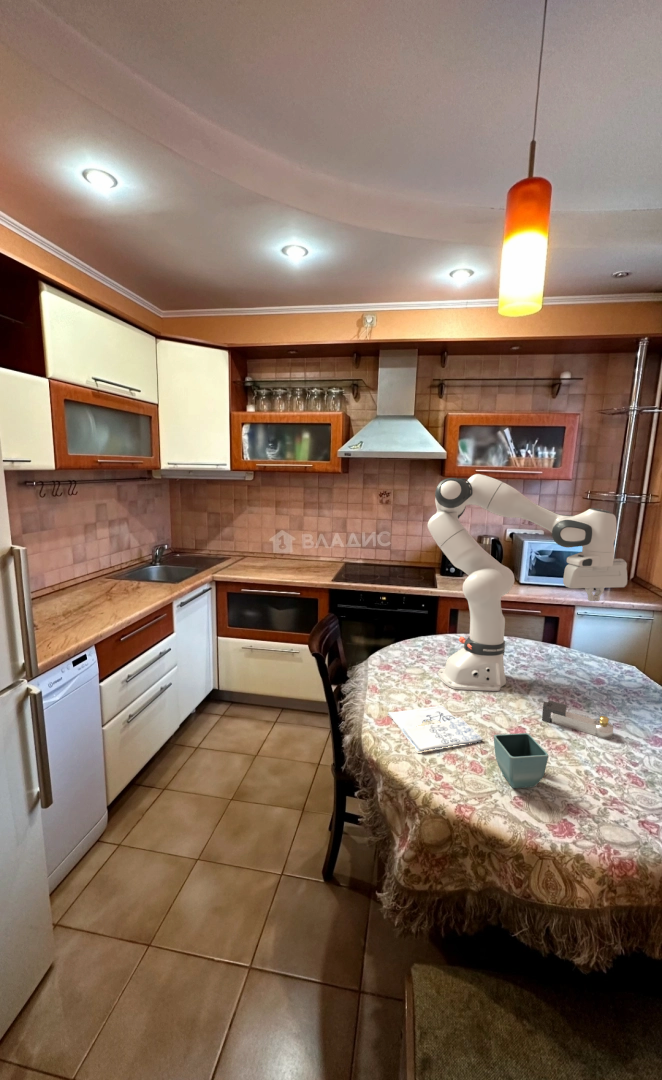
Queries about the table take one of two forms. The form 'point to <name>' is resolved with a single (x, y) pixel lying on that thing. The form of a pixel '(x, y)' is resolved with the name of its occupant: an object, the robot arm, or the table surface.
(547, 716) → the pintle base
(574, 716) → the link
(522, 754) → the flower pot
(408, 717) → the white illustrated notebook
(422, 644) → the table surface
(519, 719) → the table surface
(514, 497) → the robot arm
